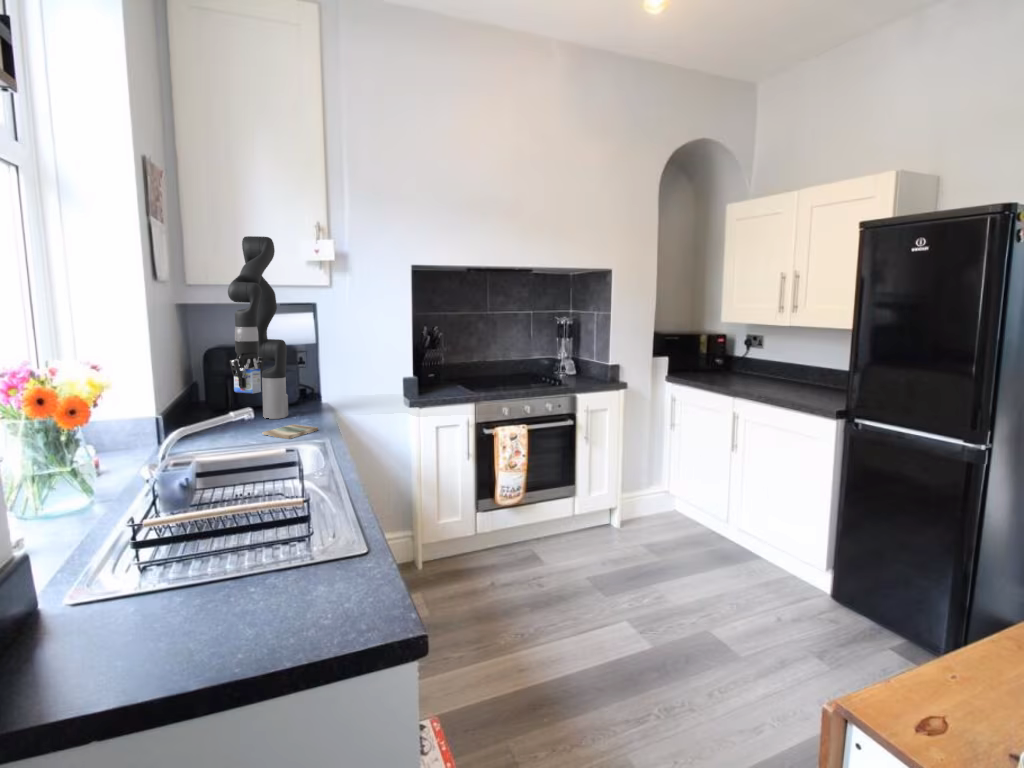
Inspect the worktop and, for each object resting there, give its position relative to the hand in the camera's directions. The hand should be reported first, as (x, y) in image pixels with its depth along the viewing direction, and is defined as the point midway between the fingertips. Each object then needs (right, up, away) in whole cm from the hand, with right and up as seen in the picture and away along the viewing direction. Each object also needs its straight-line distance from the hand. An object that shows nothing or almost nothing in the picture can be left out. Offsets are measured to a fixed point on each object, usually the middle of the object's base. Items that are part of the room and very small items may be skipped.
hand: (248, 386), depth 199 cm
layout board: (+11, -17, +11) cm, 23 cm away
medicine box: (0, -2, 0) cm, 2 cm away
